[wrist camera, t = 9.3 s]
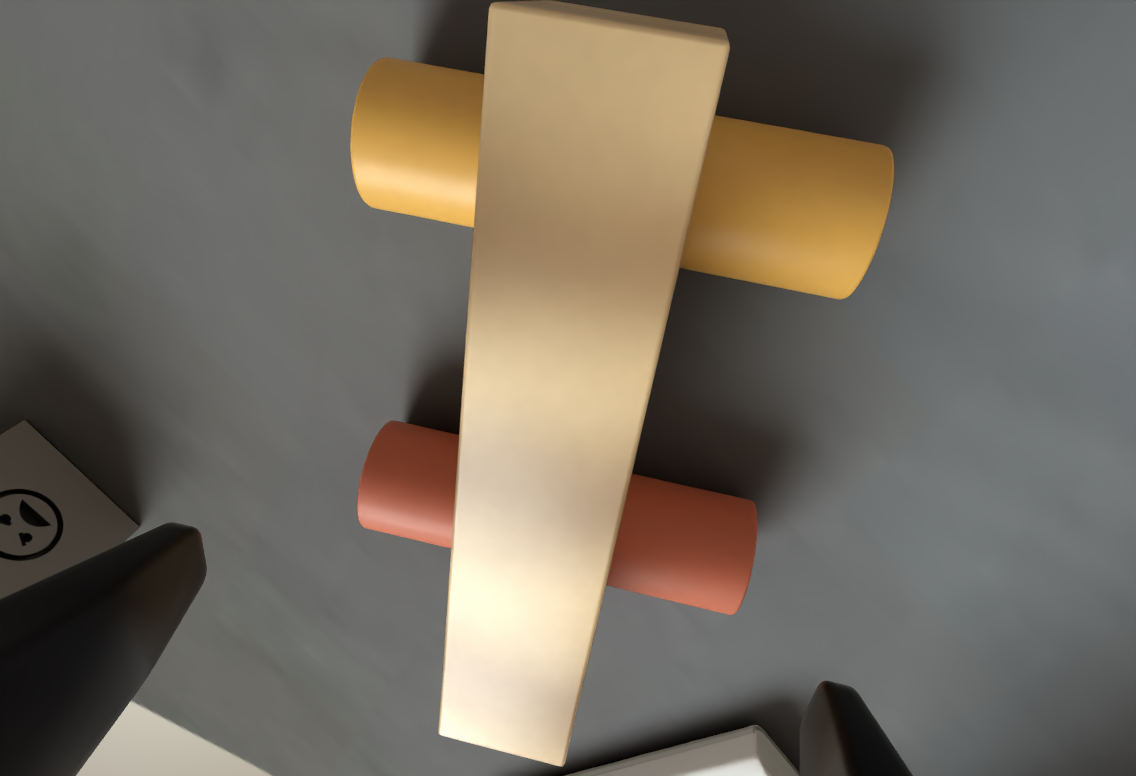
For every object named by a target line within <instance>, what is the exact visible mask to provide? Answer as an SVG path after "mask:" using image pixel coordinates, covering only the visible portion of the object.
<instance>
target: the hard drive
mask: <svg viewBox="0 0 1136 776" xmlns="http://www.w3.org/2000/svg"><path fill="white" fill-rule="evenodd" d="M565 776H800V773H799V772H798V771H797V769H796V768H795V767H794V766H793V765H792V763H791V762H790V761H789V760H788V759H787V757H786V756H785V755H784V754H783V753H782V751H781V750H780V749H779V748H778V747H777V745H776V744H775V743H774V742H773V741H772V740H771V738H770V737H769V736H768V735H767V733H766V732H765V731H764V730H763V729H762V728H761V727H759V726H758V725H752V726H749V727H745V728H742V729H738V730H734V731H731V732H727V733H723V734H719V735H715V736H711V737H707V738H703V739H700V740H695V741H691V742H689V743H685V744H681V745H678V746H673V747H670V748H667V749H663V750H659V751H655V752H651V753H647V754H643V755H639V756H636V757H632V758H629V759H625V760H621V761H618V762H615V763H611V764H607V765H603V766H599V767H595V768H591V769H587V770H583V771H580V772H576V773H572V774H568V775H565Z"/></svg>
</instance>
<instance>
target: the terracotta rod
mask: <svg viewBox="0 0 1136 776" xmlns="http://www.w3.org/2000/svg"><path fill="white" fill-rule="evenodd" d="M458 445H459V435H457V434H453V433H448V432H444V431H439V430H435V429H430V428H426V427H421V426H417V425H412V424H408V423H403V422H399V421H390V422H388V423H387V424H386V425H384V426H383V428H382V429H381V430H380V432H379V433H378V435H377V436H376V438H375V440H374V442H373V444H372V446H371V448H370V450H369V453H368V455H367V458H366V461H365V464H364V467H363V471H362V475H361V479H360V484H359V490H358V500H357V511H358V518H359V521H360V523H361V525H362V526H363V527H365V528H368V529H372V530H376V531H381V532H385V533H389V534H393V535H397V536H402V537H406V538H410V539H414V540H418V541H423V542H427V543H431V544H435V545H439V546H444V547H448V548H451V546H452V532H453V517H454V503H455V488H456V474H457V460H458ZM756 541H757V510H756V506H755V503H754V502H753V501H751V500H748V499H743V498H739V497H734V496H730V495H726V494H721V493H717V492H712V491H708V490H703V489H699V488H694V487H690V486H685V485H681V484H676V483H672V482H667V481H663V480H658V479H654V478H649V477H645V476H641V475H636V474H632V475H631V480H630V484H629V488H628V493H627V497H626V501H625V506H624V510H623V514H622V518H621V523H620V527H619V531H618V536H617V540H616V544H615V549H614V553H613V557H612V562H611V566H610V570H609V575H608V579H607V583H606V585H607V586H611V587H616V588H620V589H624V590H628V591H632V592H637V593H641V594H645V595H649V596H653V597H658V598H662V599H666V600H670V601H674V602H679V603H683V604H687V605H691V606H695V607H700V608H704V609H708V610H712V611H716V612H721V613H725V614H729V615H733V614H735V613H736V612H737V611H738V609H739V608H740V606H741V604H742V601H743V599H744V597H745V594H746V591H747V587H748V584H749V580H750V576H751V572H752V567H753V562H754V556H755V550H756Z"/></svg>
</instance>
